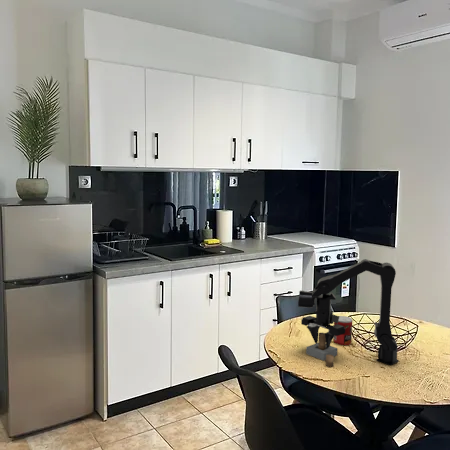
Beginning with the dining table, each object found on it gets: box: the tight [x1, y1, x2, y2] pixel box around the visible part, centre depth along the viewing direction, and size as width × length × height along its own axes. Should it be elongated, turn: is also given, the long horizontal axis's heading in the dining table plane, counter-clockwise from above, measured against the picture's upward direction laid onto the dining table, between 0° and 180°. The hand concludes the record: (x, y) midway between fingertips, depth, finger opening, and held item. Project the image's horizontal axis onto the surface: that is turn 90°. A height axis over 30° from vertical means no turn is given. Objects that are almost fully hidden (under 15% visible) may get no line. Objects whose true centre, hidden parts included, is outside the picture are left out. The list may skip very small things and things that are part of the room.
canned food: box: [332, 315, 353, 346], centre depth 210 cm, size 8×8×11 cm
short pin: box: [325, 355, 335, 368], centre depth 185 cm, size 3×3×4 cm
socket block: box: [305, 343, 338, 362], centre depth 196 cm, size 9×9×3 cm
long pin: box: [318, 332, 326, 350], centre depth 196 cm, size 3×3×9 cm
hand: (322, 345), depth 196 cm, fingers open, 6 cm apart
